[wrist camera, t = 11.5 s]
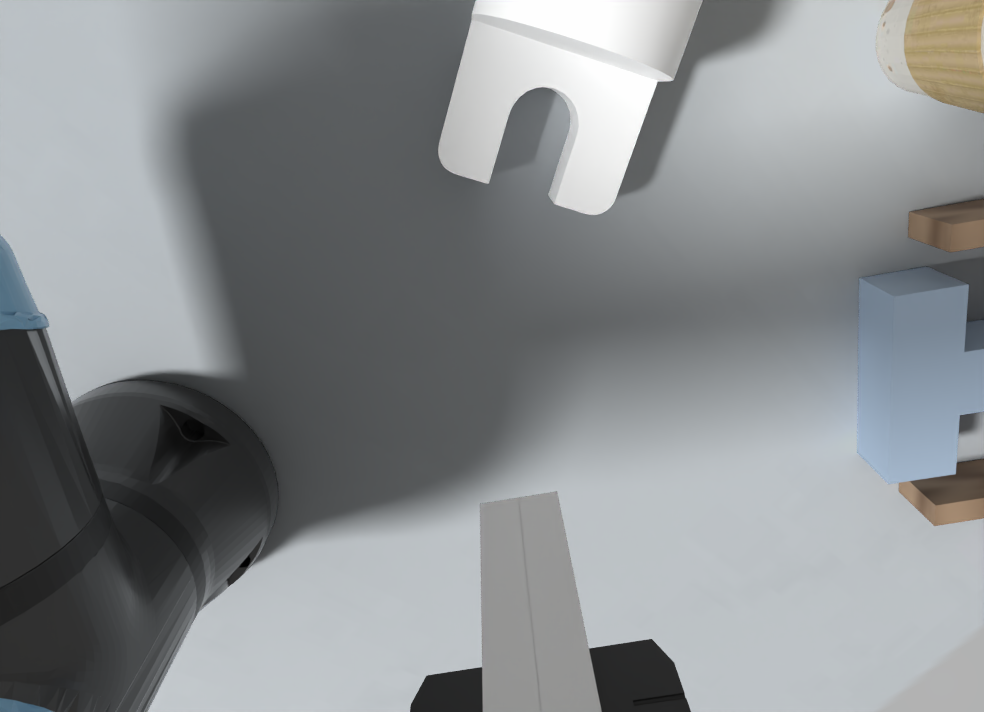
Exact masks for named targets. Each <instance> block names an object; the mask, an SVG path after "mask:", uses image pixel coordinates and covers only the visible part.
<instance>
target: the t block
mask: <svg viewBox="0 0 984 712" xmlns="http://www.w3.org/2000/svg"><path fill="white" fill-rule="evenodd" d="M968 291H969V284H967V283H965V282H962V281H960V280H958V279H955V278H953V277H950V276H948V275H946V274H943V273H941V272H939V271H936V270H934V269H932V268H929V267H927V266H926V267H920V268H914V269H908V270H902V271H897V272H891V273H885V274H879V275H873V276H868V277H862V278H859V331H858V416H857V453H858V454H859V455H860V456H861V457H862V458H863V459H864V460H865V461H866V462H867V463H868V464H869V465H870V466H871V467H872V468H873V469H874V470H875V471H876V472H877V473H878V474H879V475H880V476H881V477H882V478H883V479H884V480H885V481H886V482H887V483H888V484H893V483H900V482H907V481H913V480H920V479H927V478H933V477H940V476H947V475H953V474H956V463H957V449H958V435H959V420H960V415H964V414H971V413H977V412H984V319H982V320H976V321H970V322H966V320H967V305H968Z"/></svg>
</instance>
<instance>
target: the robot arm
mask: <svg viewBox="0 0 984 712" xmlns="http://www.w3.org/2000/svg"><path fill="white" fill-rule="evenodd" d="M47 327H49V323H48V320H47V318H46V316H45V315H44V314H42V313H40V312H39V311H38V309H37V306H36V304H35V302H34V300H33V298H32V295H31V293H30V291H29V289H28V287H27V284H26V282H25V280H24V277H23V275H22V272H21V270H20V267H19V265H18V263H17V260H16V258H15V255H14V253H13V251H12V249H11V247H10V246H9V244H8V243H7V242H6V240H5V239H4V238H3V237H2V236H1V235H0V712H147V711H148V709H149V707H150V705H151V703H152V701H153V700H154V698H155V696H156V694H157V692H158V690H159V688H160V686H161V684H162V682H163V680H164V678H165V676H166V674H167V672H168V670H169V668H170V666H171V664H172V662H173V660H174V658H175V656H176V654H177V653H178V651H179V649H180V647H181V645H182V643H183V641H184V639H185V637H186V635H187V633H188V631H189V629H190V627H191V625H192V623H193V621H194V619H195V617H196V615H197V614H198V612H199V611H200V610H202V609H203V608H204V607H205V606H206V605H208V604H209V603H210V602H211V601H212V600H214V599H215V598H216V597H217V596H218V595H220V594H221V593H222V592H223V591H224V590H225V589H226V588H227V587H229V586H230V585H231V584H233V583H234V582H235V581H236V580H237V579H239V578H240V577H241V576H242V575H243V574H244V573H245V572H246V571H247V570H248V569H249V568H250V566H251V565H252V564H253V563H254V561H255V560H256V558H257V557H258V556H259V554H260V552H261V550H262V548H263V546H264V544H265V542H266V540H267V537H268V535H269V533H270V531H271V529H272V527H273V524H274V521H275V517H276V513H277V507H278V486H277V480H276V475H275V472H274V468H273V465H272V463H271V460H270V458H269V456H268V454H267V452H266V450H265V448H264V447H263V445H262V443H261V442H260V440H259V439H258V438H257V436H256V435H255V434H254V432H253V431H252V430H251V429H250V428H249V427H248V426H247V425H246V424H245V423H244V422H243V421H242V420H241V419H240V418H239V417H238V416H237V415H236V414H234V413H233V412H232V411H230V410H229V409H228V408H226V407H225V406H223V405H222V404H220V403H219V402H217V401H215V400H214V399H212V398H210V397H208V396H206V395H204V394H202V393H199V392H197V391H195V390H192V389H189V388H186V387H183V386H179V385H176V384H171V383H166V382H159V381H148V380H136V381H124V382H118V383H113V384H109V385H106V386H102V387H99V388H97V389H94V390H92V391H90V392H88V393H86V394H84V395H82V396H81V397H79V398H77V399H76V400H75V401H73V402H72V403H71V400H70V397H69V394H68V391H67V389H66V386H65V383H64V380H63V377H62V374H61V371H60V368H59V365H58V362H57V359H56V356H55V353H54V351H53V348H52V345H51V342H50V339H49V336H48V333H47V330H46V328H47ZM480 543H481V616H482V667H480V668H474V669H467V670H460V671H454V672H447V673H441V674H434V675H428V676H426V678H425V680H424V682H423V683H422V685H421V687H420V689H419V691H418V693H417V694H416V696H415V698H414V700H413V702H412V704H411V709H410V712H691V711H690V708H689V705H688V702H687V699H686V698H685V694H684V690H683V688H682V685H681V682H680V679H679V676H678V673H677V670H676V667H675V664H674V662H673V661H672V660H671V659H670V658H669V657H668V656H667V655H666V654H665V653H664V652H663V651H662V649H661V648H660V647H659V646H658V645H657V644H656V643H655V642H654V641H653V640H652V639H649V640H642V641H636V642H629V643H623V644H616V645H610V646H603V647H597V648H590V649H589V647H588V642H587V637H586V632H585V627H584V622H583V617H582V612H581V607H580V602H579V597H578V592H577V587H576V582H575V577H574V572H573V567H572V563H571V558H570V553H569V548H568V543H567V538H566V533H565V528H564V523H563V518H562V513H561V508H560V503H559V498H558V493H557V491H556V492H550V493H543V494H537V495H531V496H525V497H519V498H513V499H507V500H500V501H494V502H488V503H482V504H480Z"/></svg>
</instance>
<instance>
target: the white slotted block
mask: <svg viewBox="0 0 984 712" xmlns="http://www.w3.org/2000/svg"><path fill="white" fill-rule="evenodd" d="M702 2H703V0H476V1H475V4H474V8H473V12H472V21H471V24H470V28H469V32H468V36H467V40H466V43H465V47H464V51H463V55H462V58H461V62H460V66H459V70H458V73H457V77H456V81H455V85H454V89H453V92H452V96H451V100H450V104H449V107H448V111H447V115H446V119H445V122H444V126H443V130H442V134H441V138H440V141H439V146H438V155H439V159H440V161H441V163H442V165H443V166H444V167H445V168H446V169H447V170H448V171H449V172H452V173H454V174H456V175H460V176H463V177H466V178H469V179H473V180H476V181H479V182H483V183H486V184H489V181H490V178H491V174H492V171H493V168H494V164H495V161H496V157H497V154H498V151H499V147H500V144H501V140H502V137H503V134H504V130H505V127H506V123H507V120H508V117H509V114H510V111H511V109H512V107H513V105H514V103H515V102H516V101H517V100H518V98H519V97H520V96H522V95H523V94H524V93H526V92H527V91H530V90H532V89H535V88H540V87H545V88H549V89H551V90H553V91H555V92H557V93H558V94H559V95H560V96H561V97H562V98H563V99H564V101H565V102H566V104H567V106H568V109H569V112H570V128H569V132H568V135H567V138H566V142H565V145H564V148H563V151H562V154H561V157H560V160H559V163H558V166H557V169H556V172H555V175H554V179H553V182H552V185H551V188H550V191H549V194H548V195H549V197H550V199H551V200H552V202H553V203H554V204H555V205H558V206H561V207H565V208H568V209H571V210H574V211H578V212H581V213H584V214H588V215H598V214H601V213H604V212H605V211H607V210H608V209H609V208H610V207H611V206H612V205H613V203H614V201H615V199H616V197H617V194H618V191H619V188H620V185H621V183H622V180H623V177H624V174H625V171H626V169H627V166H628V163H629V160H630V158H631V155H632V152H633V149H634V146H635V144H636V141H637V138H638V135H639V132H640V130H641V127H642V124H643V121H644V118H645V116H646V113H647V110H648V107H649V104H650V102H651V99H652V96H653V93H654V90H655V88H656V85H657V82H658V81H673V80H674V78H675V75H676V73H677V70H678V67H679V65H680V62H681V59H682V56H683V54H684V51H685V48H686V45H687V43H688V40H689V37H690V34H691V32H692V29H693V26H694V23H695V21H696V18H697V15H698V12H699V10H700V7H701V4H702Z"/></svg>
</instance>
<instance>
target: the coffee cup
mask: <svg viewBox="0 0 984 712" xmlns="http://www.w3.org/2000/svg"><path fill="white" fill-rule="evenodd" d="M876 52H877V57H878V62H879V64H880V66H881V68H882V70H883V72H884V74H885V75H886V76H887V78H888V79H889V80H890V81H891V82H892V83H894V84H895V85H896V86H897V87H900V88H902V89H904V90H906V91H909V92H913V93H917V94H922V95H926V96H930V97H932V98H934V99H936V100H938V101H940V102H942V103H946V104H950V105H954V106H958V107H962V108H966V109H969V110H973V111H977V112H981V113H984V0H889V2H888V3H887V5H886V7H885V9H884V11H883V13H882V15H881V18H880V21H879V24H878V29H877V35H876Z"/></svg>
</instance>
